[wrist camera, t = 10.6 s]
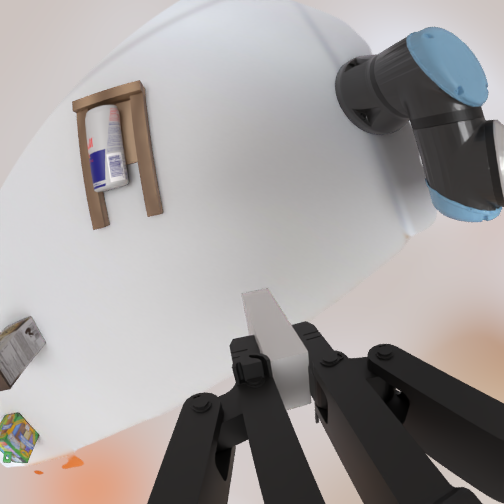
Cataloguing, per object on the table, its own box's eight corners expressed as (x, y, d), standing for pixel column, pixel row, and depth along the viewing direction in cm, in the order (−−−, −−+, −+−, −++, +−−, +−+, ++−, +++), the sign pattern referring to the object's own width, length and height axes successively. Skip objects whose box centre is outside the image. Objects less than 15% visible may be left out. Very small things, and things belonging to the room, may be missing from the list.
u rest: (144, 88, 37) (139, 80, 33) (163, 212, 42) (159, 215, 38) (82, 107, 35) (72, 101, 32) (98, 227, 41) (89, 231, 37)
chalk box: (19, 411, 45) (-2, 447, 31) (40, 435, 48) (24, 472, 34) (4, 414, 45) (-16, 447, 30) (24, 436, 47) (8, 470, 33)
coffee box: (21, 351, 42) (-14, 394, 27) (7, 325, 41) (-34, 364, 25) (47, 343, 43) (11, 390, 28) (31, 315, 41) (-12, 356, 26)
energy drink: (96, 193, 38) (86, 120, 35) (128, 185, 40) (118, 112, 37) (92, 192, 33) (82, 109, 30) (129, 182, 35) (119, 101, 32)
